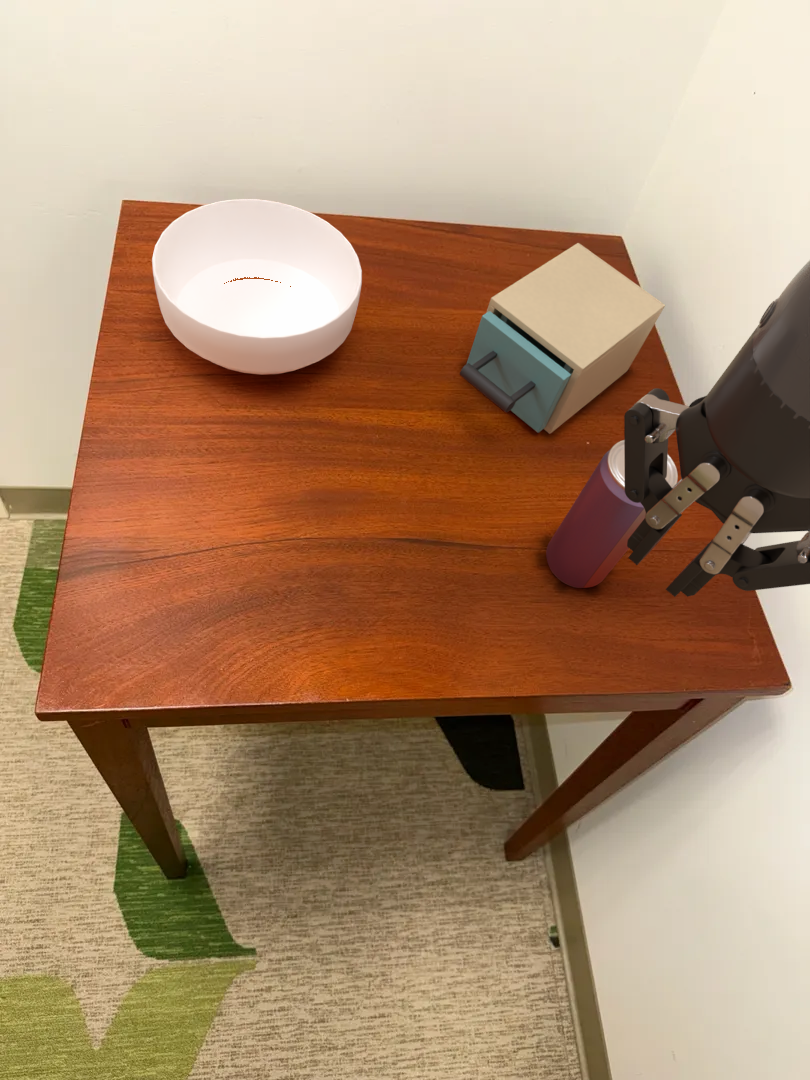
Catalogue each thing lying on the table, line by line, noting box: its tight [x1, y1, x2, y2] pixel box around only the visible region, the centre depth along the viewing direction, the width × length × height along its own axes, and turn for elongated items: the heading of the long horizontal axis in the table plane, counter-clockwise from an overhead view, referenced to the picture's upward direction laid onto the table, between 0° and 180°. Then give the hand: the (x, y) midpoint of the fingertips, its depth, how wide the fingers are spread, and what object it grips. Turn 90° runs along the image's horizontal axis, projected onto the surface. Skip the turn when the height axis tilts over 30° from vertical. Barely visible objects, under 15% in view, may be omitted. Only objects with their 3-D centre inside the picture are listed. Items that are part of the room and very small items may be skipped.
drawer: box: [459, 311, 574, 434], centre depth 78 cm, size 18×10×8 cm, turn 136°
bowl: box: [151, 198, 363, 375], centre depth 76 cm, size 20×20×8 cm
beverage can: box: [545, 439, 679, 589], centre depth 65 cm, size 6×6×15 cm
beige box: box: [485, 242, 666, 434], centre depth 80 cm, size 15×12×10 cm
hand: (658, 568), depth 46 cm, fingers closed
